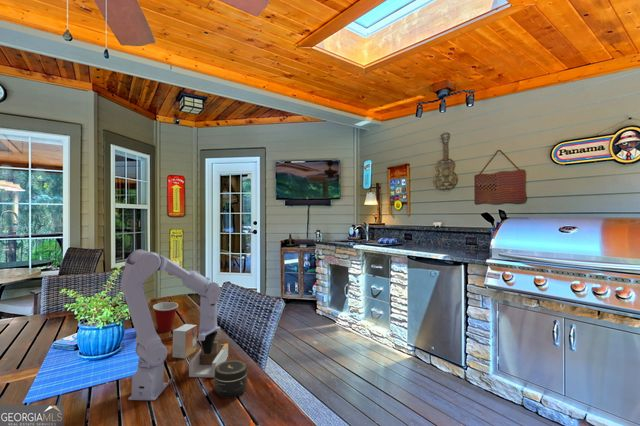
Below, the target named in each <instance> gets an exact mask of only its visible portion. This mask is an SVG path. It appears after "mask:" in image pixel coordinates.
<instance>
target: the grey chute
mask: <svg viewBox="0 0 640 426" xmlns="http://www.w3.org/2000/svg"><path fill="white" fill-rule="evenodd" d="M227 357H228V358H229V343H221V351H220V352H219V354H218V355H217V357H216V358H215V359H214V361H213V362H212V365H205V364H201V347H200V349H199V350H198V351H197V352H196V354H195V355H194V356H193V357H192V358H191V359H190V361H189V362H188V378H215V377H214V374H215V368H216V366H217V365H219V364H220V363H222V362H225V361H227V359H228V358H227Z"/></svg>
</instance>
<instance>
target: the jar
mask: <svg viewBox="0 0 640 426" xmlns="http://www.w3.org/2000/svg"><path fill="white" fill-rule="evenodd" d="M247 374H248V366H247V364H246V363H245V362H244V361H241V360H236V359H235V360H234V359H233V360H231V359H230V360H226V361H225V362H222V363H220V364H219V365H217V366H216V368H215V374H214V377H213V378H214V392H215V394H216V395H217V396H218V397H219V398H223V399H233V398H235V397H240V396H241V395H242V394H243V393H244V392H245V390H246V387H247V383H248V382H247V381H248V380H247V378H248V376H247Z"/></svg>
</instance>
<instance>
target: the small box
mask: <svg viewBox="0 0 640 426" xmlns="http://www.w3.org/2000/svg"><path fill="white" fill-rule="evenodd" d="M197 340H198V324H190V323H184V324H183V325H181V326H179V327H178V328H175V329H172V354H171V355H172V358H175V359H176V358H177V359H187V358H188V357H189V356H191V355H192V354H194V353H195V352H196V351H197V342H198V341H197Z"/></svg>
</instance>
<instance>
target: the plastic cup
mask: <svg viewBox="0 0 640 426" xmlns="http://www.w3.org/2000/svg"><path fill="white" fill-rule="evenodd" d="M178 307H179V303H177V302H174V301H173V302H172V301H165V302H164V301H162V302H158V303H155V304H153V306H152V309H153V310H154V314H155V321H156V326H157V330H158V332H159V333H169V332H171V331H173V325H174V321H175V318H176V311H177V309H178Z"/></svg>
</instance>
